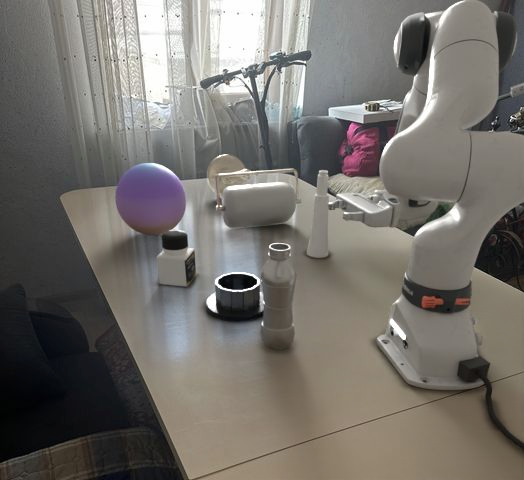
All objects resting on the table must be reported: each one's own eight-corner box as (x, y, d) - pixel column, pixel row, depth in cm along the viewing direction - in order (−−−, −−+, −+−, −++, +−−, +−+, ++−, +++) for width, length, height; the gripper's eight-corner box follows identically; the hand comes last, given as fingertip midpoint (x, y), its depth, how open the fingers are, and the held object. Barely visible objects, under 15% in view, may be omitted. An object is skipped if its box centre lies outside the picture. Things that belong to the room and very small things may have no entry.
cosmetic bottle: (331, 251, 142) (338, 169, 130) (325, 259, 137) (331, 174, 125) (310, 248, 143) (315, 167, 132) (303, 256, 139) (308, 172, 127)
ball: (116, 226, 158) (107, 158, 147) (181, 220, 164) (175, 154, 153) (124, 249, 142) (114, 175, 131) (195, 241, 148) (190, 169, 137)
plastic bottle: (283, 356, 96) (287, 256, 86) (253, 346, 99) (253, 248, 89) (300, 341, 101) (305, 245, 90) (270, 332, 104) (272, 237, 93)
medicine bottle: (187, 287, 122) (183, 238, 115) (158, 284, 123) (153, 236, 116) (196, 275, 128) (193, 228, 121) (169, 272, 129) (164, 226, 122)
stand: (270, 321, 108) (271, 296, 105) (204, 321, 108) (202, 296, 104) (268, 292, 120) (269, 268, 116) (208, 292, 119) (207, 268, 116)
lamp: (194, 224, 185) (223, 232, 149) (186, 157, 178) (214, 148, 141) (264, 216, 193) (307, 222, 156) (259, 152, 185) (304, 143, 149)
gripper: (363, 185, 146) (319, 189, 142) (403, 205, 130) (355, 210, 126) (361, 207, 149) (318, 211, 145) (400, 229, 133) (352, 235, 129)
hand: (335, 211), depth 135 cm, fingers open, 8 cm apart
